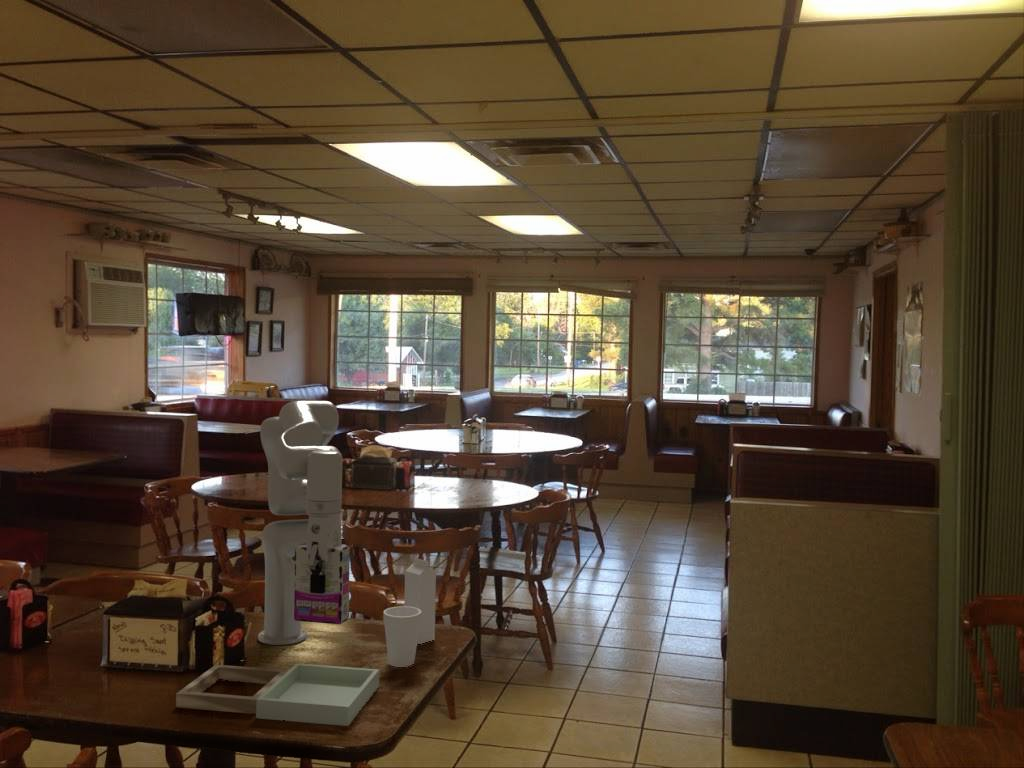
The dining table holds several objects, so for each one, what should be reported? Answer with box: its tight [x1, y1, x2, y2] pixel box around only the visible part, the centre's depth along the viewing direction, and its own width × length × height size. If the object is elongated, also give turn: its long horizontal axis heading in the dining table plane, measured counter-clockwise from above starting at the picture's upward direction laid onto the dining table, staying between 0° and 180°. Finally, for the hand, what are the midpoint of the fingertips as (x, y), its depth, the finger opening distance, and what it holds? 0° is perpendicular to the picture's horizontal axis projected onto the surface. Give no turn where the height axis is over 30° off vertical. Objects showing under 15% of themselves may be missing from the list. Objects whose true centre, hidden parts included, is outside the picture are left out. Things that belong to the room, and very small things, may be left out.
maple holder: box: [175, 664, 290, 715], centre depth 197 cm, size 18×18×3 cm
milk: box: [403, 557, 437, 645], centre depth 237 cm, size 6×6×22 cm
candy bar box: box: [294, 543, 351, 625], centre depth 193 cm, size 11×5×16 cm, turn 78°
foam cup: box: [382, 605, 421, 668], centre depth 219 cm, size 10×9×13 cm
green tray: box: [255, 663, 380, 727], centre depth 194 cm, size 22×20×4 cm
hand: (322, 588), depth 193 cm, fingers closed on candy bar box, 5 cm apart
